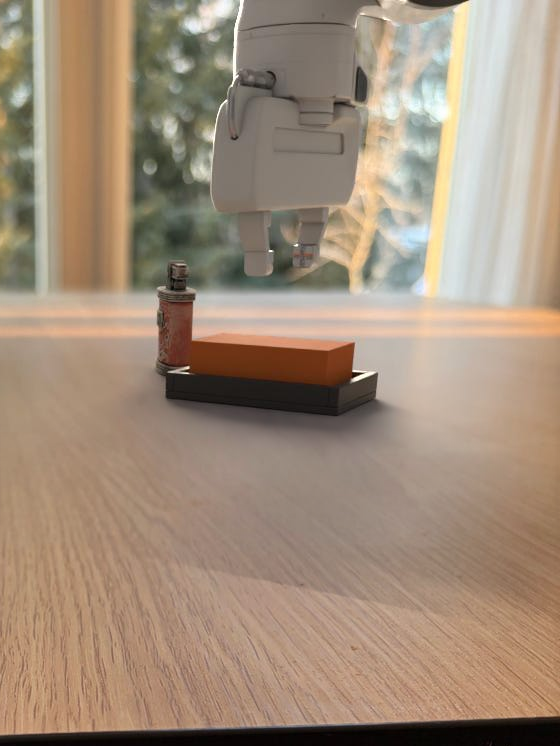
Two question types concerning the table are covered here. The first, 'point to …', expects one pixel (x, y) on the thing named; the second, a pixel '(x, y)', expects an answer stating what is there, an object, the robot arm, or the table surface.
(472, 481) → the table surface
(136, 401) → the table surface
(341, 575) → the table surface
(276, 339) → the block
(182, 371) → the frame
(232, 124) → the robot arm
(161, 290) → the lighter
